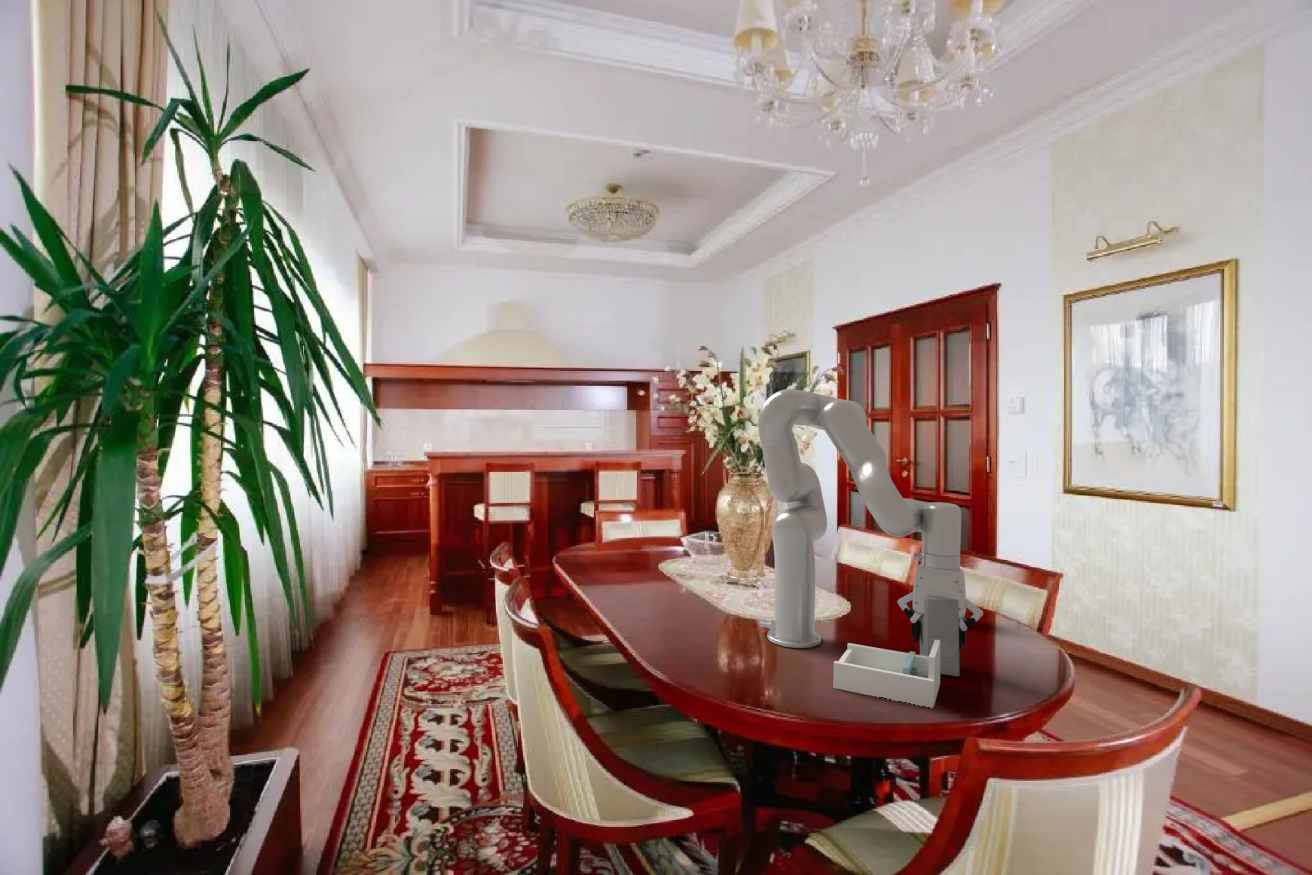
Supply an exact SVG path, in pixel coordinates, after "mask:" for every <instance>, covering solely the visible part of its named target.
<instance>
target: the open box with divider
mask: <svg viewBox="0 0 1312 875" xmlns="http://www.w3.org/2000/svg"><path fill="white" fill-rule="evenodd" d="M909 653H910V652H903V651H897V650H892V649H886V648H879V647H874V646H869V645H868V646H867V645H863V644H856V643H851V642H848V643H847V649H846V650H845V651H844V653H843V654H842V656H841V657H840V658H839V660H834V661H833V676H832V677H833V678H832V679H833V683H832V684H833V685H832V686H833V689H837V690H841V691H846V692H850V693H851V692H852V693H856V694H861V695H866V696H870V695H871V696H870V697H875V696H876V697H875V698H879V697H884V698H887V699H886V700H889V699H891V700H890V701H895V702H898V701H902V702H901V703H903V702H907V703H906V704H908V703H911V704H910V705H913V704H915V705H914V706H918V705H919V706H918V707H922V706H926V707H925V708H927V707H930V708H929V709H932V708H933V707H934V708H935V704H936V700H937V696H938V693H939V690H940V687H941V686H940V685H941V674H940V660H941V659H940V640H935V641H934V643H933V646H932V649H931V652H930V655H929V657H927V656H921V655H920V654H915V667H916V668H921V669H927V670H929V671H928V678H923V677H918V676H913V675H907V674H903V666H904V664H905V661H906V659H907V657H908V655H909ZM884 698H883V699H884ZM934 708H933V709H934Z"/></svg>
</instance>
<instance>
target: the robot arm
mask: <svg viewBox="0 0 1312 875" xmlns="http://www.w3.org/2000/svg"><path fill="white" fill-rule="evenodd" d="M867 418H868V417H867V413H866V411H865V409H864V408H863V407H862V405H860V403H858V402H856V401H853V400H847V399H843V398H842V399H841V398H837V397H833V396H828V395H824V394H820V393H815V392H812V391H807V390H802V389H801V390H800V389H796V388H786V389H781V390H778V391H777V392H774V393H773V394H772V395H770V396H769V397H768V398H767V399H766V401H764V403H763V404H762V406H761V407H760V410H759V413H758V418H757V430H758V434H759V441H760V446H761V451H762V454H763V455H762V456H763V463H764V467H765V474H766V476H767V477H766V478H767V485H768V489H769V492H770V494H771V496H772V497H773V499H775V500H776V501H777V502H780V503H783V504H784V503H786V504H787V505H786V506H787V509H785V510H783V511H781V512H780V513H779V514H778V515H777V516H776V517H775V519H774V522H773V524H772V530H771V533H772V534H771V536H772V543H773V544H772V545H773V552H774V553H773V554H774V605H773V606H774V609H773V610H774V616H772V617H771V618H769V617H766V616H758V619H757V623H758V625H759V627H761V628H768V629H769V630H768V631H767V634H766V635H767V639H768V640H769V642H771V643H773V644H775V645H778V646H782V647H784V648H785V647H786V648H793V649H806V648H809V649H810V648H814V647H817V646H819V645H820V644H821V642H822V636H821V634H820V633H818V632H816V631H815V628H816V627H815V624H816V618H815V617H816V615H815V614H816V557H815V552H814V550H815V549H814V543H815V542H817V541H820V539H822V538H823V536H824V535H825V533H826V532H827V529H828V517H827V512H826V508H825V502H824V496H823V493H822V488H821V483H820V479H819V476H818V474H817V472H816V471H815V469H814V468H813V467H811V465H809V464H807V463H805V462H802V461H801V455H800V452H799V446H798V442H797V439H796V437H795V435H794V432H793V427H794V426H796V425H797V426H805V427H810V428H815V429H818V430H821V431H824V432H825V433H826V435H827V436H828V438H829V439H830V441H831V443H832V444H833V446H834V447H835V449H836V451H837V452H838V453H839V455H840V456H841V458H842V460H843V462H844V463H845V464H846V466H847V468H848V469H849V471H850V473H851V476H852V479H853V482H854V484H855V486H856V488H857V491H858V493H859V495H860V497H861V500H862V501H863V503H864V505H865V506H866V509H867V510H868V511H869V513H870V515H872V517H873V519H874V520H875V522H876V523H877V525H878V526H879V528H880V529H881V530H882V531H883V532H884V533H886V534H887V535H888V536H890V537H893V538H894V537H895V538H904V537H907V536H909V535H911V534H913V533H920V532H921V551H920V552H917V553H916V552H914V553H913V560H917V561H919V562H920V563H919V564H918V565H916V569H915V573H914V580H913V591H912V592H909V593H908V594H906V595H904V596H903V597H900V598H898V600H897V604H898V606H899V607H900V608H901V610H902V612H903V613H904V615H905V616H906V617H907V618H908V619H909V620H910V622H911V637H913V638H914V642H915V643H918V642H920V616H921V615H924V606H925V597H926V596H927V597H936V598H946V599H955V600H959V601H958V610H959V651H960V650H962V648H963V646H965V645H966V644H967V641H966V640H967V630H969V628H971V627H972V626H973V625H975V624H976V622H978V621H979V620H980V618H981V617H982V616H983V615H984V611H983V610H982V609H980V608H979V607H978V606H977V605H975V603H973V602H972V601H971V600H969V599H968V598H967V591H966V590H967V588H966V580H965V572H964V569H963V568H960V567H961V541H962V540H961V538H962V537H961V536H962V534H961V533H962V510H961V508H960V506H959V505H958V504H954V503H949V502H942V501H941V502H940V501H938V502H937V501H936V502H928V501H922V500H917V499H913V498H904V497H903V496H902V495H901V493H900V491H899V490H898V489H897V487H896V485H895V484H894V482H893V480H892V478H891V476H890V473H889V470H888V469H889V468H888V464H887V463H888V462H887V455H886V452H885V450H884V449H883V447H882V445H881V444H880V443H879V441H878V439H877V438H876V436H875V435H874V434H873V432H872V430H871V429H870V427H869V426H868V425H867V420H868V419H867ZM911 601H912V609H911V608H910V607H909V606H908V604H907V603H908V602H911ZM967 609H968V610H969V611H970V612H971V613H972V615H971V616H970V617H968V618H967V619H965V617H966V616H965V615H966V611H967Z"/></svg>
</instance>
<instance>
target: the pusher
mask: <svg viewBox="0 0 1312 875" xmlns="http://www.w3.org/2000/svg"><path fill="white" fill-rule="evenodd" d="M908 653H909V655H908V657H907V659H906V661H905V664H904V666H903V674H907V675H913V676H918V677H923V678H928V671H929V670H927V669H921V668H916V667H915V655H916V651H911V650H910V651H909V652H908Z"/></svg>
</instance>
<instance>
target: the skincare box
mask: <svg viewBox="0 0 1312 875" xmlns="http://www.w3.org/2000/svg"><path fill="white" fill-rule="evenodd" d="M958 601H959V600H955V599H946V598H936V597H927V596H926V597H925V606H924V615H921V616H920V617H919V621H920V639H919V655H921V656H927V657H929V655H930V652H931V649H932V646H933V643H934V641H935V640H940V659H941V660H940V675H945V676H953V677H959V676H960V649H959V610H958Z"/></svg>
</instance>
